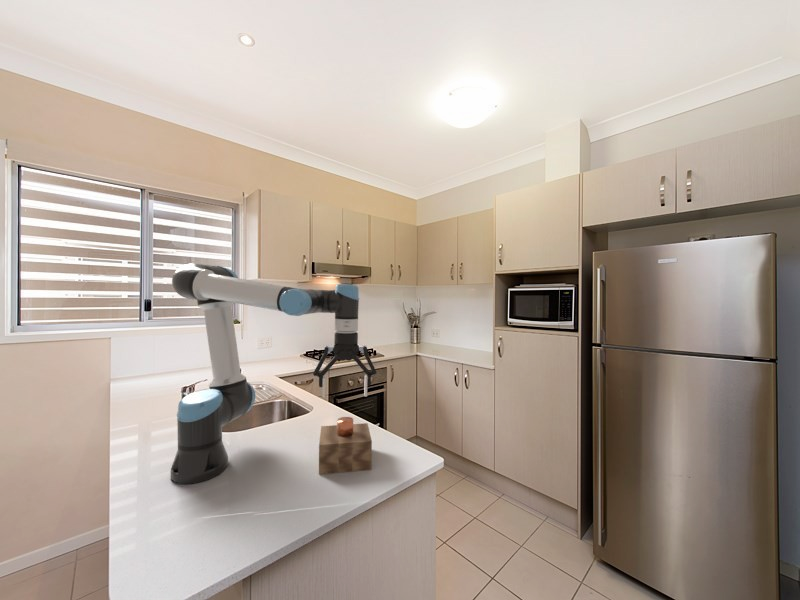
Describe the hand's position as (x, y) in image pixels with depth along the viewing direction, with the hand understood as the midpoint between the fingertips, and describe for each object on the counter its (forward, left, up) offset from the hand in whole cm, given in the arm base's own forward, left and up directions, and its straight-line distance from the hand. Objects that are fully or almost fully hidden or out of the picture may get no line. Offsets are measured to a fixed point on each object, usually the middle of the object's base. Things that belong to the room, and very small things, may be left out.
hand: (344, 396), depth 105 cm
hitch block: (0, 0, -21) cm, 21 cm away
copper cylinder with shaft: (0, 0, -18) cm, 18 cm away
